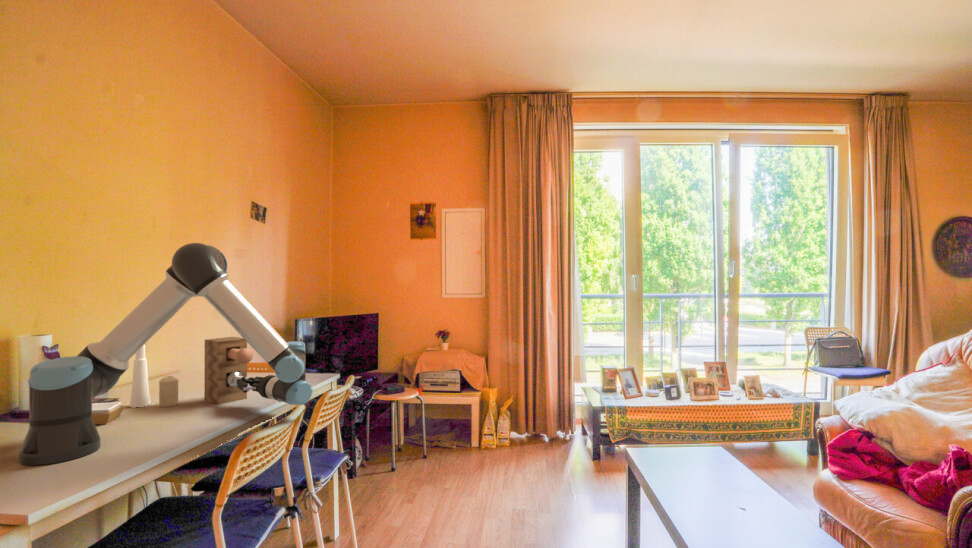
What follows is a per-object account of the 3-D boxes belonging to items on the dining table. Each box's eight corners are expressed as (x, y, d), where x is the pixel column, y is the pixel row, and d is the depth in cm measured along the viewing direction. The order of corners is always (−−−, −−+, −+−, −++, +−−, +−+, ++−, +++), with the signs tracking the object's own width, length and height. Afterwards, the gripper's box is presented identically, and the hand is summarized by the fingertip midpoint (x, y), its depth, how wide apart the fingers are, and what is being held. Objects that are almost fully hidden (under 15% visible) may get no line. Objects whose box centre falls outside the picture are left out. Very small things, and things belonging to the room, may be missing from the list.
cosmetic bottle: (143, 402, 165) (143, 340, 165) (155, 404, 163) (155, 341, 163) (125, 407, 159) (125, 343, 159) (137, 408, 157) (137, 343, 157)
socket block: (246, 398, 170) (246, 338, 171) (218, 404, 162) (219, 341, 162) (232, 394, 176) (232, 336, 176) (204, 400, 167) (204, 339, 168)
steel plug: (242, 385, 167) (242, 370, 168) (228, 388, 163) (228, 373, 163) (226, 381, 174) (226, 367, 174) (212, 384, 169) (212, 370, 169)
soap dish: (59, 429, 136) (59, 412, 136) (77, 420, 145) (77, 403, 146) (110, 425, 140) (110, 408, 140) (124, 416, 149) (124, 400, 149)
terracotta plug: (253, 362, 164) (253, 347, 164) (238, 364, 160) (238, 349, 160) (236, 359, 170) (236, 345, 170) (221, 361, 166) (221, 346, 166)
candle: (181, 404, 163) (181, 375, 163) (163, 407, 158) (163, 378, 158) (173, 402, 166) (173, 374, 166) (156, 405, 161) (156, 376, 161)
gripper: (255, 403, 147) (217, 394, 160) (292, 395, 158) (253, 386, 171) (255, 380, 147) (217, 372, 160) (292, 372, 158) (253, 366, 171)
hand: (236, 379), depth 165 cm, fingers closed
